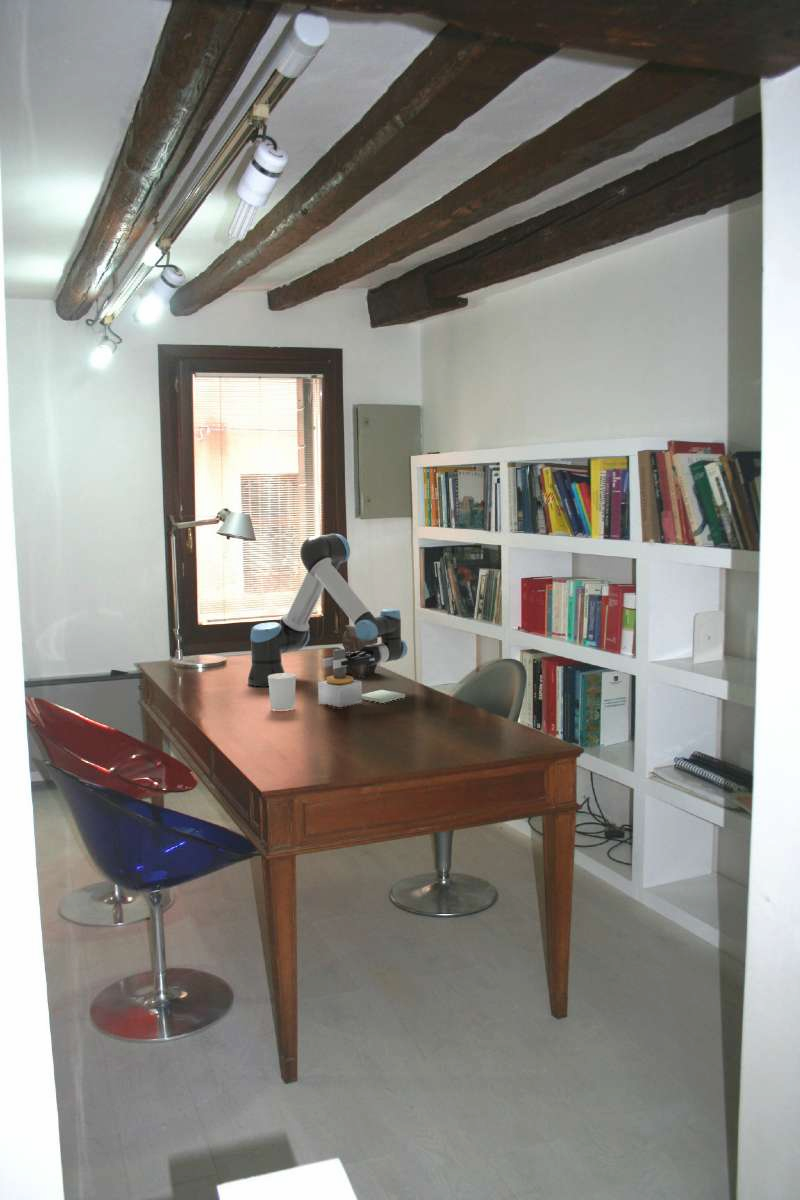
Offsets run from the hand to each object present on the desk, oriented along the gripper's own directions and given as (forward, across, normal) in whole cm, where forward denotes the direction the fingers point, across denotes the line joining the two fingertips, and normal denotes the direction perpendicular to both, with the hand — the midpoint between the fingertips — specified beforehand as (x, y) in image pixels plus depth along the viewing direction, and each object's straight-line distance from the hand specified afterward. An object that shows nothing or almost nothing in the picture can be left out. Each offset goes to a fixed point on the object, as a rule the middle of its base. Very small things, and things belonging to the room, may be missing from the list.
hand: (328, 663), depth 370 cm
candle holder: (+13, +10, -16) cm, 23 cm away
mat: (-21, -6, -15) cm, 26 cm away
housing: (-5, 0, -15) cm, 16 cm away
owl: (-48, +32, -16) cm, 60 cm away
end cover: (-5, 0, -13) cm, 14 cm away
